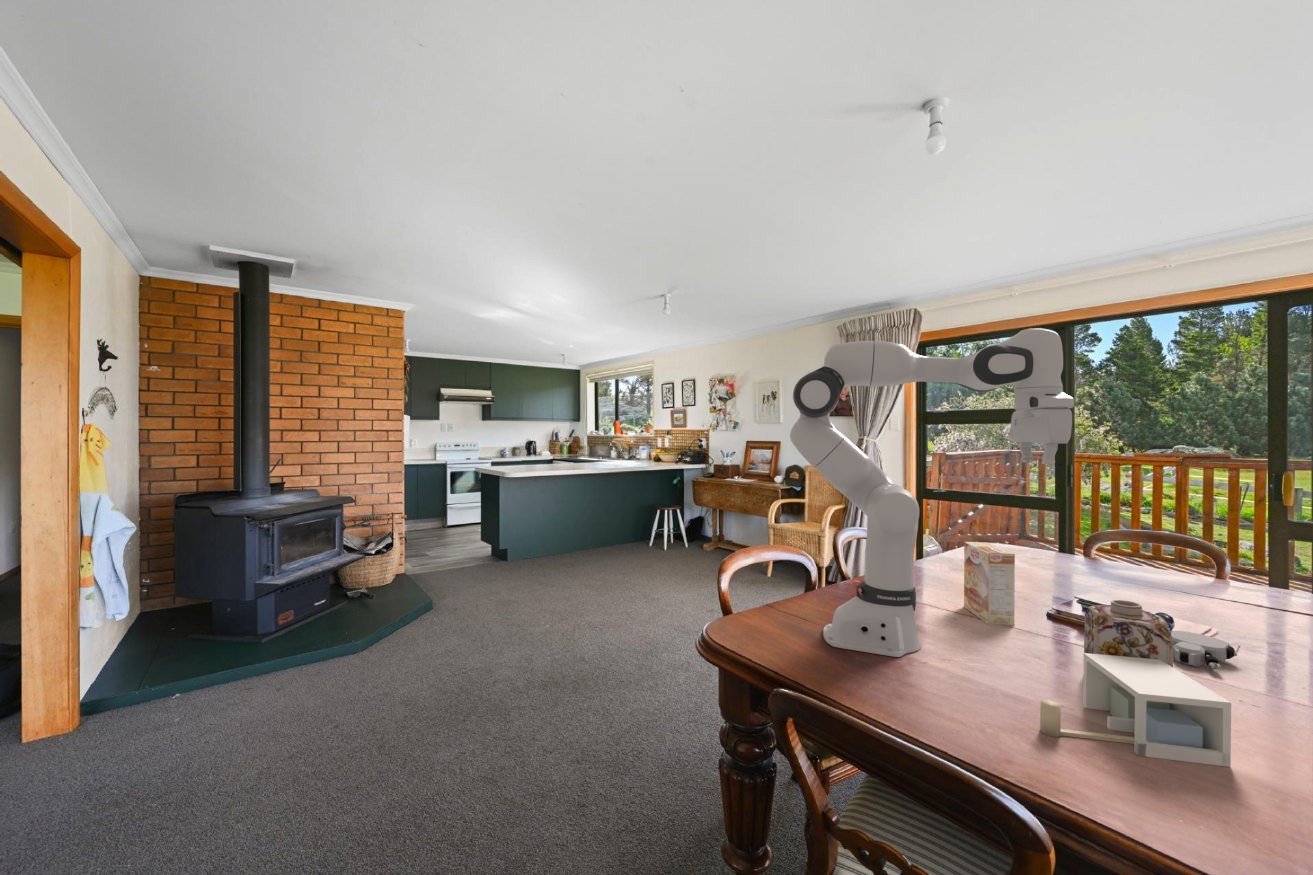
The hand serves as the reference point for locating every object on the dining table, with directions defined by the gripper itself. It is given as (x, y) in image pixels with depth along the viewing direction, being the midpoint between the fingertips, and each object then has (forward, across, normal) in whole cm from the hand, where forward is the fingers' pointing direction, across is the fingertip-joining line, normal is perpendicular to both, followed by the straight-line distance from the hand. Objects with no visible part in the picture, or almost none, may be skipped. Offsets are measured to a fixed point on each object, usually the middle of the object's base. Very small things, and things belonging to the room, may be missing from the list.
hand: (1037, 463), depth 119 cm
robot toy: (+45, -10, +36) cm, 59 cm away
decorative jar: (+45, +12, +11) cm, 48 cm away
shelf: (+45, +28, +6) cm, 53 cm away
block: (+45, +24, +6) cm, 51 cm away
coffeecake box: (+45, -32, +2) cm, 55 cm away
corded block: (+45, +31, -1) cm, 55 cm away
